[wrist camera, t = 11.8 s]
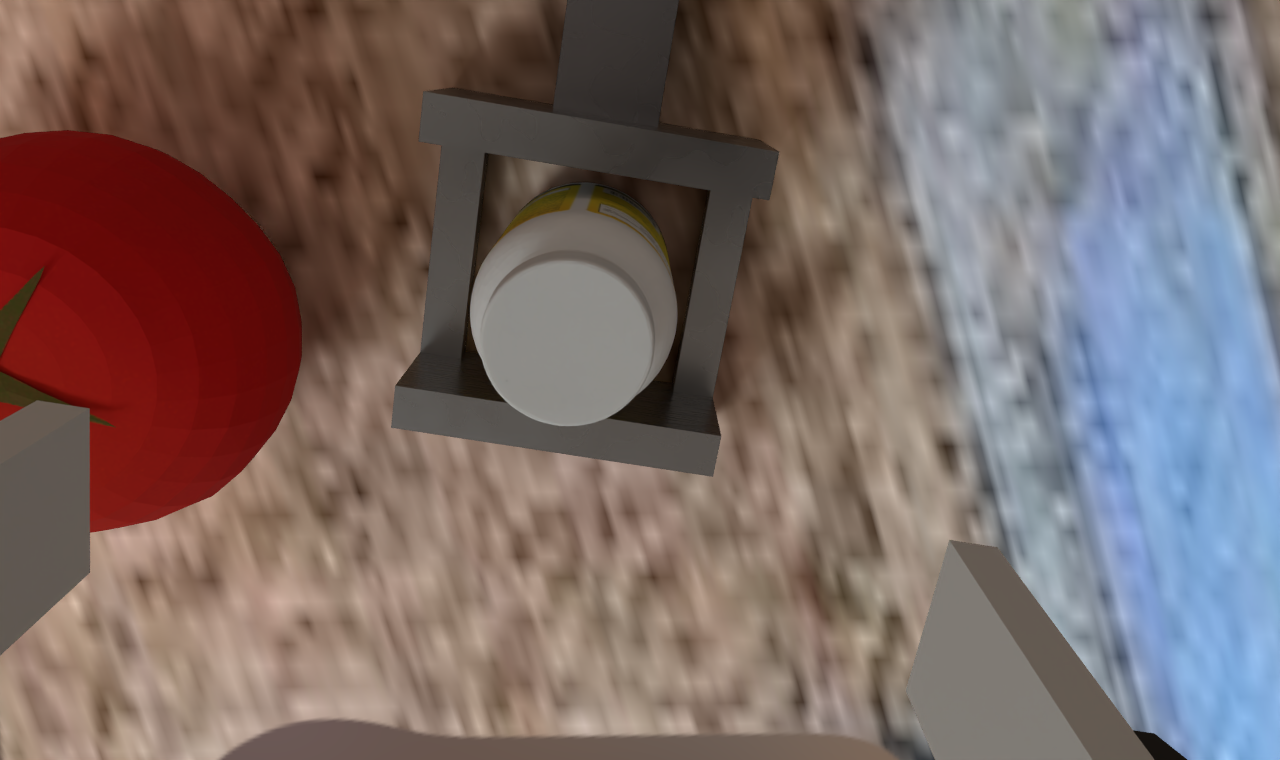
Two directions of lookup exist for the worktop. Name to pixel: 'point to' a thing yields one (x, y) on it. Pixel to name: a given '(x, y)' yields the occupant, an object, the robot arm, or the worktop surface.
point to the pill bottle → (575, 305)
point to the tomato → (141, 317)
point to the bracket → (604, 142)
